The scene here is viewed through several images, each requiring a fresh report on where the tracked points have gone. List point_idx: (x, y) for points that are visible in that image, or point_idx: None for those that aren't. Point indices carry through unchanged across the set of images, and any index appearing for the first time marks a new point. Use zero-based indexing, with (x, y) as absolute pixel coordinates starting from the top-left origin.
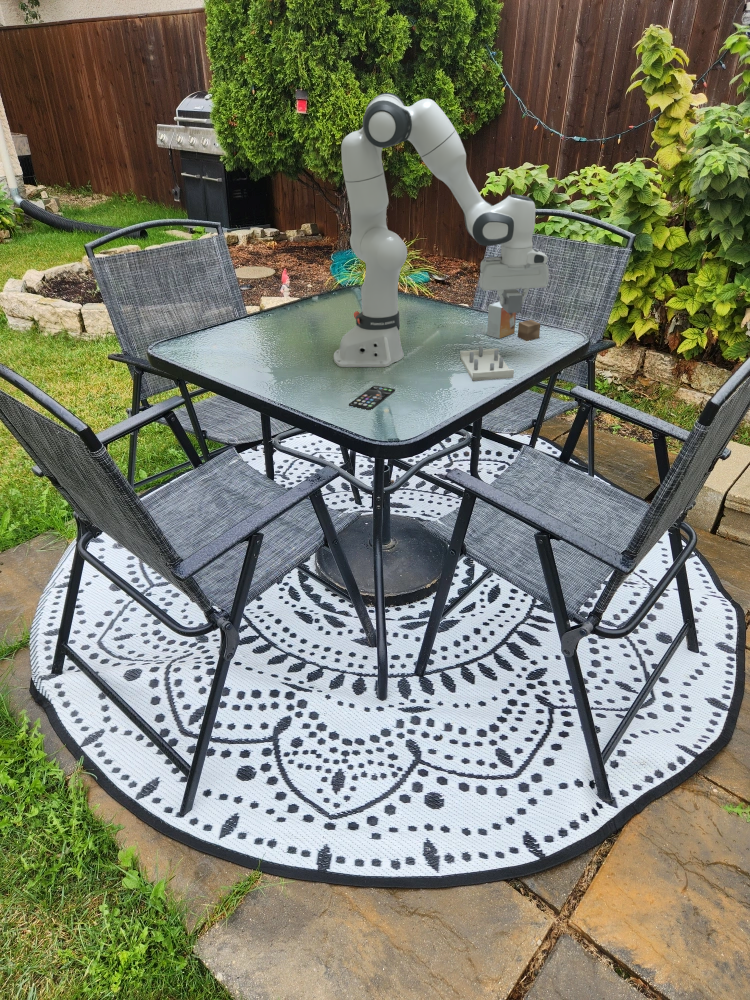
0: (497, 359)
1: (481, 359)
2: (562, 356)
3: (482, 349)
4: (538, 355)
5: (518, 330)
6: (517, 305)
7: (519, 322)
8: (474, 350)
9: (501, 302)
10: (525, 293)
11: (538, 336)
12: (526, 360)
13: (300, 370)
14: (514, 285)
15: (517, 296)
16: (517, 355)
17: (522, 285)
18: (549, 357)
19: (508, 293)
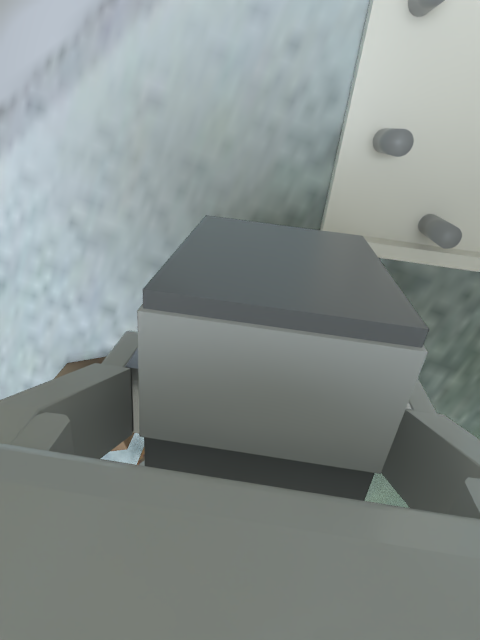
0: (381, 130)
1: (450, 178)
2: (8, 115)
3: (441, 224)
4: (125, 173)
5: None
6: (247, 246)
7: (124, 447)
8: (455, 262)
9: (419, 384)
10: (56, 397)
11: (66, 367)
12: (207, 124)
13: None
14: (284, 567)
15: (251, 298)
16: (225, 209)
17: (49, 516)
18: (78, 125)
19: (358, 454)
